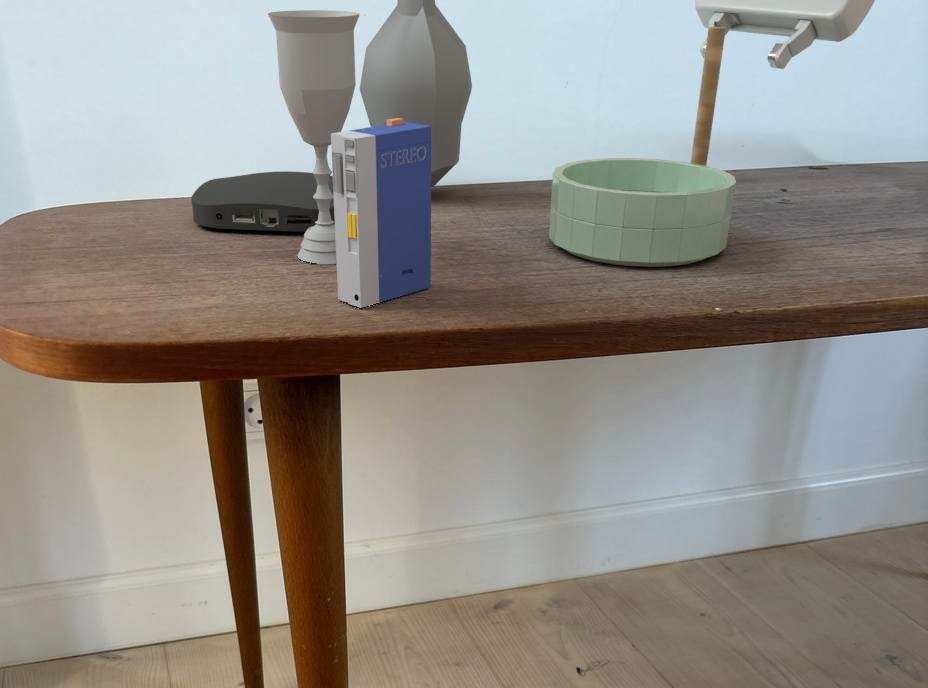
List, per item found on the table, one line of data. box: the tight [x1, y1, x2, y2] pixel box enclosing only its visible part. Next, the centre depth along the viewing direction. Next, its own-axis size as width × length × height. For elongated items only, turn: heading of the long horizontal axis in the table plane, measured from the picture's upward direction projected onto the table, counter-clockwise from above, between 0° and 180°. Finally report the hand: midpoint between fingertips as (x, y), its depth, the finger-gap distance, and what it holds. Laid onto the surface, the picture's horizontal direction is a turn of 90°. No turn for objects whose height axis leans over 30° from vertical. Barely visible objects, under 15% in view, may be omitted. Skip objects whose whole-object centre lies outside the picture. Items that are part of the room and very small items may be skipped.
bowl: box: [548, 157, 737, 268], centre depth 93 cm, size 16×16×6 cm
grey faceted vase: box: [359, 0, 473, 188], centre depth 102 cm, size 11×11×30 cm
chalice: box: [267, 9, 361, 265], centre depth 85 cm, size 7×7×18 cm
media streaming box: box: [190, 170, 335, 233], centre depth 101 cm, size 15×15×3 cm
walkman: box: [330, 118, 432, 308], centre depth 78 cm, size 8×3×12 cm, turn 138°
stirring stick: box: [690, 27, 726, 166], centre depth 115 cm, size 4×4×15 cm
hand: (739, 59), depth 115 cm, fingers open, 8 cm apart
